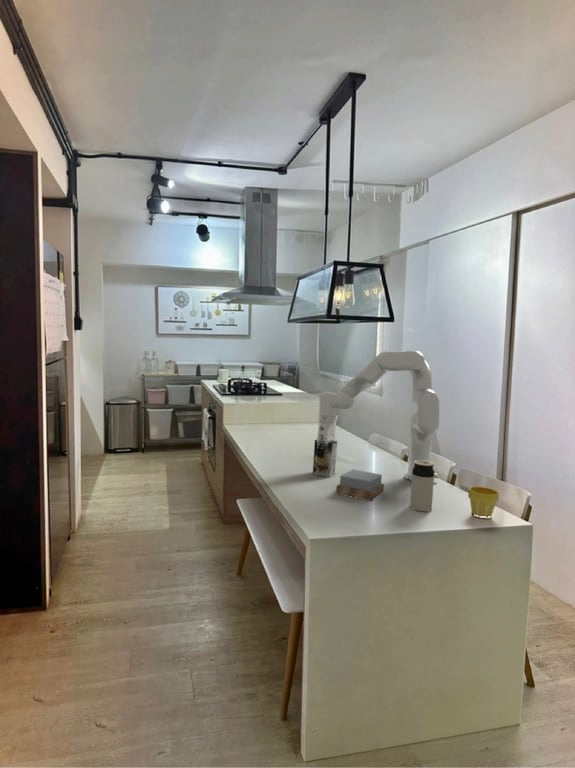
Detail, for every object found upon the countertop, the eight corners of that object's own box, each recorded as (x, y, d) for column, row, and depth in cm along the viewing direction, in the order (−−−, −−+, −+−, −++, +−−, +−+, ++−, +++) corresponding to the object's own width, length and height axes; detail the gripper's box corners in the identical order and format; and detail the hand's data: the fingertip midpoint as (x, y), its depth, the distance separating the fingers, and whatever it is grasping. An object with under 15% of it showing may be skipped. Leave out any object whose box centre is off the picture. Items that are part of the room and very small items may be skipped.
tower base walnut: (383, 493, 208) (384, 484, 207) (371, 502, 195) (371, 492, 194) (349, 486, 215) (350, 477, 215) (335, 495, 202) (336, 485, 202)
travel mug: (416, 512, 184) (420, 465, 182) (406, 505, 192) (409, 459, 190) (435, 511, 186) (439, 464, 185) (424, 504, 194) (427, 459, 192)
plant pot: (489, 511, 189) (491, 486, 188) (501, 521, 179) (504, 495, 178) (462, 510, 189) (464, 485, 188) (473, 520, 179) (475, 493, 178)
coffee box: (312, 474, 230) (313, 440, 228) (317, 471, 236) (319, 437, 234) (330, 477, 226) (332, 442, 224) (335, 474, 231) (337, 440, 230)
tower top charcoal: (381, 484, 207) (381, 474, 207) (370, 491, 196) (370, 481, 196) (352, 478, 214) (352, 469, 213) (339, 485, 203) (340, 475, 202)
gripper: (326, 422, 219) (324, 460, 220) (342, 417, 234) (339, 453, 235) (311, 420, 223) (309, 457, 224) (327, 415, 238) (325, 451, 239)
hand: (324, 455), depth 230 cm, fingers open, 9 cm apart
